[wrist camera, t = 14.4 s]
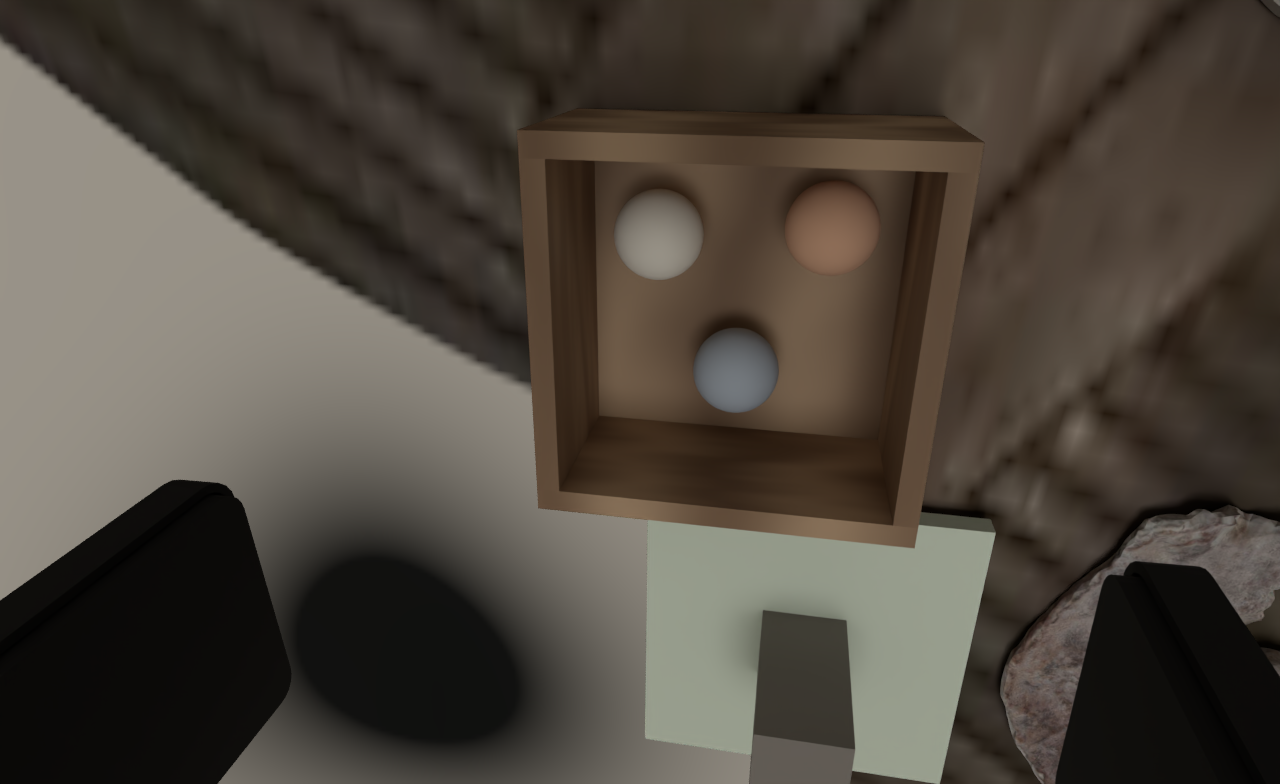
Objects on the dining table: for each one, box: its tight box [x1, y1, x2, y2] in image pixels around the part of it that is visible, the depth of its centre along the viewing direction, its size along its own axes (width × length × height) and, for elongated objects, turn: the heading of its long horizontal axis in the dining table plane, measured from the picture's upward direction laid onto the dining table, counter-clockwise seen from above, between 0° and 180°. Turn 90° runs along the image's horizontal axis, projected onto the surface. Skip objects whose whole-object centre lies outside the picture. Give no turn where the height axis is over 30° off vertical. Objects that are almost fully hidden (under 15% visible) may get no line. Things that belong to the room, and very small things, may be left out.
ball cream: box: [614, 189, 704, 280], centre depth 29 cm, size 3×3×3 cm
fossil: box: [1000, 505, 1280, 784], centre depth 34 cm, size 17×4×15 cm
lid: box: [645, 512, 996, 784], centre depth 33 cm, size 14×14×8 cm
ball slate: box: [693, 328, 779, 413], centre depth 30 cm, size 3×3×3 cm
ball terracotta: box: [785, 180, 881, 276], centre depth 28 cm, size 3×3×3 cm
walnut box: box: [517, 108, 985, 549], centre depth 28 cm, size 13×13×7 cm
